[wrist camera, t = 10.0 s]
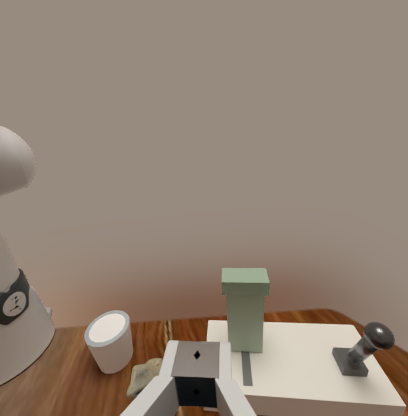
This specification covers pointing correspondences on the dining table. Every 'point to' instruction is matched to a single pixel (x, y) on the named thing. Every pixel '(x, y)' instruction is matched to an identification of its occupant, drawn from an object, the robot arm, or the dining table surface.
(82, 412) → the dining table surface
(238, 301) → the capped sage pillar
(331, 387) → the control bank
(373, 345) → the graphite lever
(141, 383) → the chocolate bunny
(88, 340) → the white tapered cup
